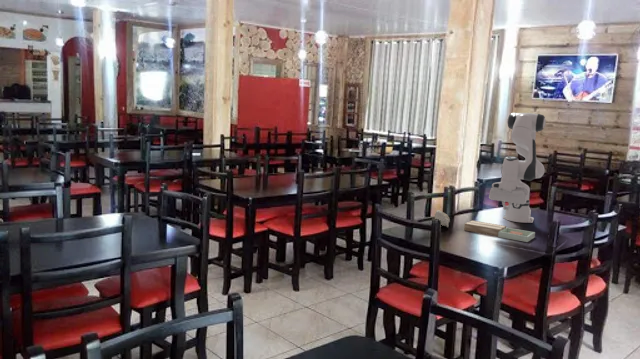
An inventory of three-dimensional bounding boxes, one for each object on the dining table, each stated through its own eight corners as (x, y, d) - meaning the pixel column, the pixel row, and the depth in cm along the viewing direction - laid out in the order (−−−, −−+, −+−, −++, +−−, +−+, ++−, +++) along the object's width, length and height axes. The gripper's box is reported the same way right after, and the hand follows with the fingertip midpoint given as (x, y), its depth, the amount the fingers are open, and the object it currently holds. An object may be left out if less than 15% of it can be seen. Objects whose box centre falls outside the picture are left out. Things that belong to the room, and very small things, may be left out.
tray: (505, 232, 318) (506, 227, 318) (534, 237, 309) (535, 232, 309) (497, 236, 306) (498, 231, 306) (527, 242, 297) (527, 236, 296)
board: (471, 226, 329) (472, 220, 328) (505, 232, 317) (506, 226, 317) (464, 230, 318) (464, 223, 318) (498, 236, 307) (499, 229, 306)
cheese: (437, 223, 310) (451, 205, 317) (427, 220, 316) (441, 202, 322) (444, 241, 319) (458, 223, 325) (434, 237, 324) (447, 220, 330)
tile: (522, 232, 308) (522, 236, 308) (512, 231, 311) (511, 234, 312) (519, 234, 303) (519, 238, 303) (509, 232, 306) (508, 236, 307)
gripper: (529, 187, 304) (526, 211, 306) (492, 182, 316) (490, 206, 318) (526, 188, 299) (523, 213, 301) (489, 183, 311) (486, 207, 313)
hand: (506, 209), depth 310 cm, fingers closed
